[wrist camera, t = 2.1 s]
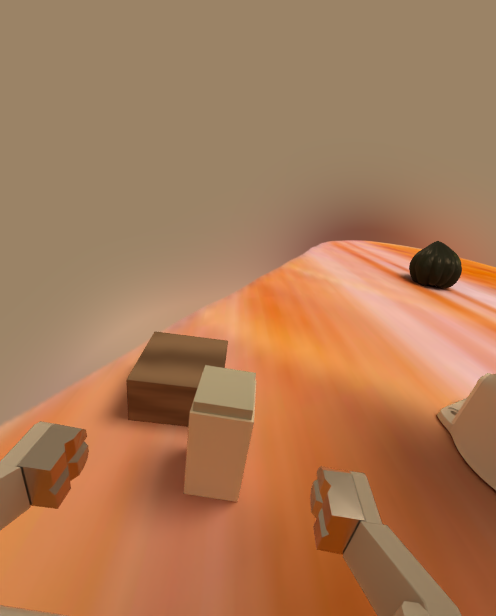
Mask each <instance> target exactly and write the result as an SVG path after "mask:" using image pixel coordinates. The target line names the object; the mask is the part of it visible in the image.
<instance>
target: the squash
mask: <svg viewBox="0 0 496 616" xmlns="http://www.w3.org/2000/svg"><path fill="white" fill-rule="evenodd" d="M409 270H410V275H411V277H412V279H413V280H414V281H416V282H418V283H420V284H422V285H428V284H430V285H432V286H433V285H435V286H436V287H438V288H449V287H451V286H453V285H454V284H455V283H456V282H457V281H458V279H459V278H460V275H461V272H462V267H461V261H460V259H459V257H458V255H457V254H456V253H455V252H454V251H452V250H451V249H450V248H449V247H448V246H446V245H445V244H444V243H442V242H439V241H437V242H434V243H432V244H430V245H429V246H427V247H426V248H424V249H422V250H421V251H419V252H418V253H417V254H416V255H415V256H414V257H413V258H412V260H411V262H410V266H409Z"/></svg>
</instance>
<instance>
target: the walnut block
mask: <svg viewBox="0 0 496 616" xmlns="http://www.w3.org/2000/svg"><path fill="white" fill-rule="evenodd" d="M227 345H228V341H225V340H217V339H209V338H202V337H194V336H186V335H178V334H170V333H162V332H154V334H153V335H152V337H151V339H150V341H149V342H148V344H147V346H146V347H145V349H144V351H143V353H142V354H141V356H140V358H139V359H138V361H137V363H136V365H135V366H134V368H133V370H132V371H131V373H130V375H129V376H128V378H127V399H128V420H134V421H143V422H152V423H162V424H171V425H180V426H189V414H190V410H191V407H192V404H193V401H194V398H195V395H196V391H197V388H198V385H199V382H200V379H201V376H202V373H203V371H204V368H205V365H208V366H214V367H220V368H225V360H226V353H227Z"/></svg>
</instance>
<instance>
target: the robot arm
mask: <svg viewBox="0 0 496 616" xmlns="http://www.w3.org/2000/svg"><path fill="white" fill-rule="evenodd" d="M437 416H438V418H439V420H440V421H441V422H442V424H443V425H444V426H445V427H446V428H447V429H448V430H449V432H450V433H451V435H452V438H453V440H454V443H455V445H456V447H457V449H458V451H459V452H460V454H461V455H462V457H463V458H464V459H465V461H466V462H467V463H468V464H469V466H470V467H471V468H472V469H473V470H474V471H475V472H476V473H477V474H478V475H479V476H480V477H481V478H482V479H483V480H484V481H485V482H486V483H488V484H489V485H490V486H491V487H492V488H494V489H495V490H496V374H490V373H487V374H486V375H484V376H482V377H481V378H480V379H479V380H478V381H477V384H476V385H475V387H474V388H473V390H472V392H471V393H470V395H469V396H468V397H467V398H466V399H463V400H461V401H459V402H456V403H454V404H451V405H449V406H447V407H444V408H442V409H441V410H440V411H439V412H438V414H437ZM86 437H87V433H86V430H85V429H80V428H74V427H69V426H64V425H58V424H53V423H47V422H41V421H40V422H39V423H37V424H35V425H34V426H33V427H32V428H31V429H30V430H29V431H28V432H27V433H26V434H25V436H24V437H23V438H22V439H21V440H20V441H19V442H18V443H17V444H16V445H15V446H14V447H13V448H12V449H11V451H10V452H9V453H8V454H7V455H6V456H5V457H4V458H3V459H2V460H1V461H0V530H2V529H3V528H4V527H5V526H7V525H8V524H9V523H11V522H12V521H13V520H15V519H16V518H17V517H19V516H20V515H21V514H22V513H24V512H25V511H26V510H28V509H29V508H30V507H31V506H39V507H47V508H55V509H58V508H59V506H60V505H61V503H62V502H63V500H64V498H65V497H66V495H67V494H68V492H69V491H70V489H71V484H70V481H71V480H73V479H74V478H76V477H77V476H79V474H80V473H81V471H82V470H83V468H84V466H85V463H86V461H87V458H88V452H89V450H88V445H87V444H86V443H85V442H84V440H85V439H86ZM317 478H318V479H317V480H315V481H314V482H313V485H312V488H311V496H310V499H311V511H312V513H313V515H314V516H315V518H316V522H315V524H314V534H315V541H316V549H317V550H321V551H327V552H332V553H337V554H343V558H344V559H345V561H346V563H347V565H348V566H349V568H350V570H351V571H352V573H353V575H354V576H355V578H356V580H357V582H358V583H359V585H360V587H361V588H362V590H363V592H364V593H365V595H366V597H367V599H368V600H369V602H370V604H371V605H372V607H373V609H374V610H375V612H376V614H377V616H462V615H461V613H460V611H459V609H458V607H457V606H456V605H455V604H454V603H453V601H452V600H451V599H450V598H449V597H448V596H447V594H446V593H445V592H444V591H443V590H442V589H441V587H440V586H439V585H438V584H437V583H436V582H435V580H434V579H433V578H432V577H431V576H430V575H429V573H428V572H427V571H426V570H425V569H424V568H423V566H422V565H421V564H420V563H419V562H418V561H417V559H416V558H415V557H414V556H413V555H412V554H411V552H410V551H409V550H408V549H407V548H406V547H405V545H404V544H403V543H402V542H401V541H400V540H399V539H398V537H397V536H396V535H395V534H394V533H393V532H392V530H391V529H390V528H389V527H388V526H387V525H384V524H382V521H381V518H380V515H379V512H378V509H377V506H376V503H375V500H374V497H373V494H372V491H371V488H370V485H369V482H368V479H367V476H366V475H365V474H364V473H360V472H353V471H348V470H342V469H335V468H328V467H322V466H321V467H320V468H319V469H318V471H317ZM30 505H31V506H30ZM0 616H67V615H61V614H54V613H48V612H42V611H35V610H29V609H22V608H16V607H9V606H3V605H0Z"/></svg>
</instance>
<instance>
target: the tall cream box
mask: <svg viewBox="0 0 496 616" xmlns="http://www.w3.org/2000/svg"><path fill="white" fill-rule="evenodd" d="M255 377H256V373H253V372H246V371H240V370H233V369H227V368H220V367H214V366H208V365H205V368H204V371H203V373H202V376H201V379H200V382H199V385H198V388H197V391H196V395H195V398H194V401H193V404H192V407H191V410H190V414H189V427H188V441H187V454H186V467H185V481H184V494H189V495H195V496H201V497H208V498H214V499H221V500H227V501H234V502H238V498H239V493H240V488H241V483H242V478H243V473H244V468H245V464H246V459H247V454H248V449H249V444H250V439H251V434H252V429H253V424H254V412H255V395H256V380H255Z"/></svg>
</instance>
